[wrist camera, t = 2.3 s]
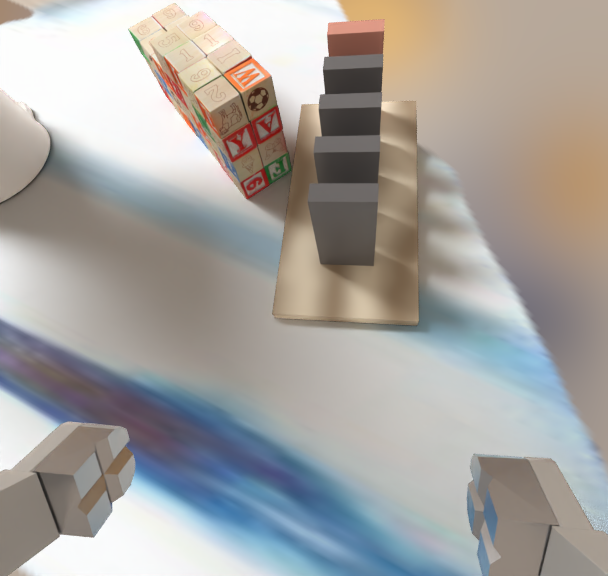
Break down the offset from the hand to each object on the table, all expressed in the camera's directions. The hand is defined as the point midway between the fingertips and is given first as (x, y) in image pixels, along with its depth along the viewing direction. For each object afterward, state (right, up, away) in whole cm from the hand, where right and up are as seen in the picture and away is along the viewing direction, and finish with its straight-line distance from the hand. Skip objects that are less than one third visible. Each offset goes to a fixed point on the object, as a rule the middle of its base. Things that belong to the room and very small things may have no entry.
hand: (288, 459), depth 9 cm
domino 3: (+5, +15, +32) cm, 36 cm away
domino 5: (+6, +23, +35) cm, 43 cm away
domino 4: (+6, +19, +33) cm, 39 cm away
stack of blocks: (-9, +23, +39) cm, 46 cm away
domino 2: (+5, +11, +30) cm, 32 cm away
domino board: (+5, +13, +32) cm, 35 cm away
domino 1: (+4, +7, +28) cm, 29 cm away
